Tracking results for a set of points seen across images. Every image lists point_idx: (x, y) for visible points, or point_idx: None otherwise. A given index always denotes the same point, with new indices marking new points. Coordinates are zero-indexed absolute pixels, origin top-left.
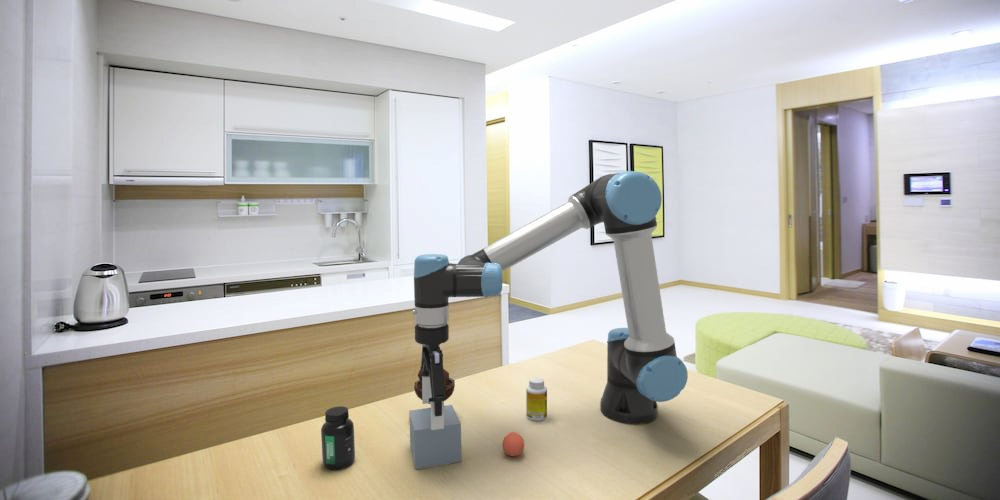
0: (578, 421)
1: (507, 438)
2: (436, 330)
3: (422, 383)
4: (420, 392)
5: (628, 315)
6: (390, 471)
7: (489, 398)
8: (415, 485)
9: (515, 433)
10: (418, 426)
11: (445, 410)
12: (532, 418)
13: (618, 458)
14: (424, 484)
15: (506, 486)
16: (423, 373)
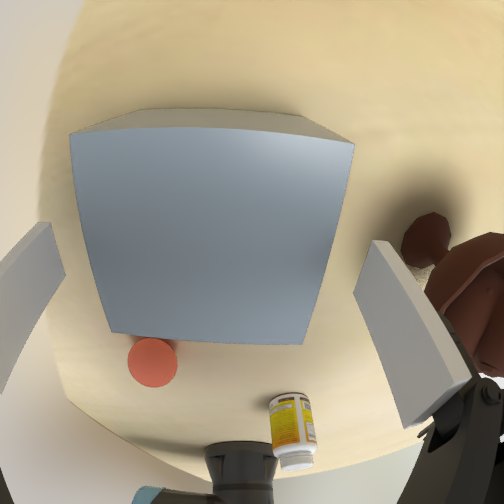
0: (241, 425)
1: (140, 368)
2: None
3: (438, 337)
4: (483, 254)
5: None
6: (161, 33)
7: None
8: (69, 108)
9: (149, 385)
10: (105, 160)
11: (256, 316)
12: (277, 399)
13: (129, 415)
14: (68, 132)
15: (54, 296)
16: (467, 415)
